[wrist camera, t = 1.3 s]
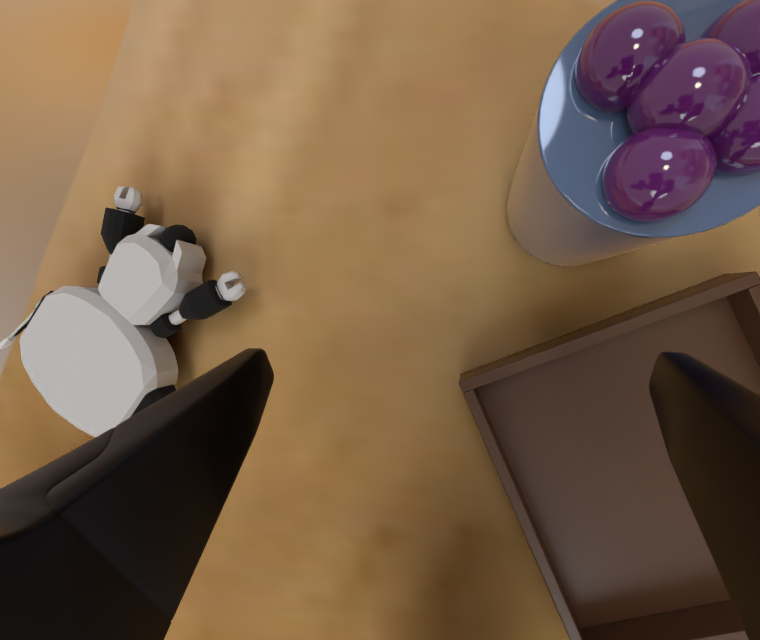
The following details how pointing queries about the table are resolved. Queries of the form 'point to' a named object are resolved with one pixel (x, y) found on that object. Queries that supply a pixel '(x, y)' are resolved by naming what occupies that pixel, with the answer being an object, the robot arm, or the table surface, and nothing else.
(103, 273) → the robot toy
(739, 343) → the tray
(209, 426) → the robot arm
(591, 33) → the grape cup
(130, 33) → the table surface
